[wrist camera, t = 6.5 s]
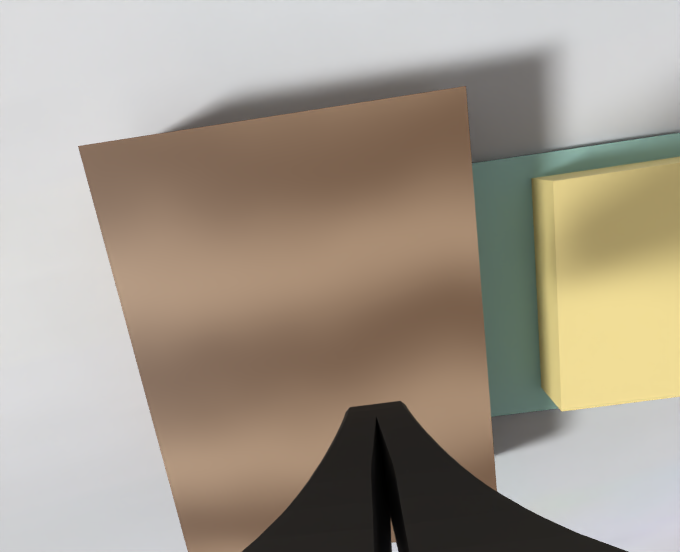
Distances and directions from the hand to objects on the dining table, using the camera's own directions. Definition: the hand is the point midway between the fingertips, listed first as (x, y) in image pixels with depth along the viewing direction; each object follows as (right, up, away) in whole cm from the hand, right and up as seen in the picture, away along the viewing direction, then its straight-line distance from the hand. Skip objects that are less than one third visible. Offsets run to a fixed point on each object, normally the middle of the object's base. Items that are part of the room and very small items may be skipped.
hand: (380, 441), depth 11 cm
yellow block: (+10, +3, +6) cm, 12 cm away
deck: (-2, +2, +9) cm, 10 cm away
